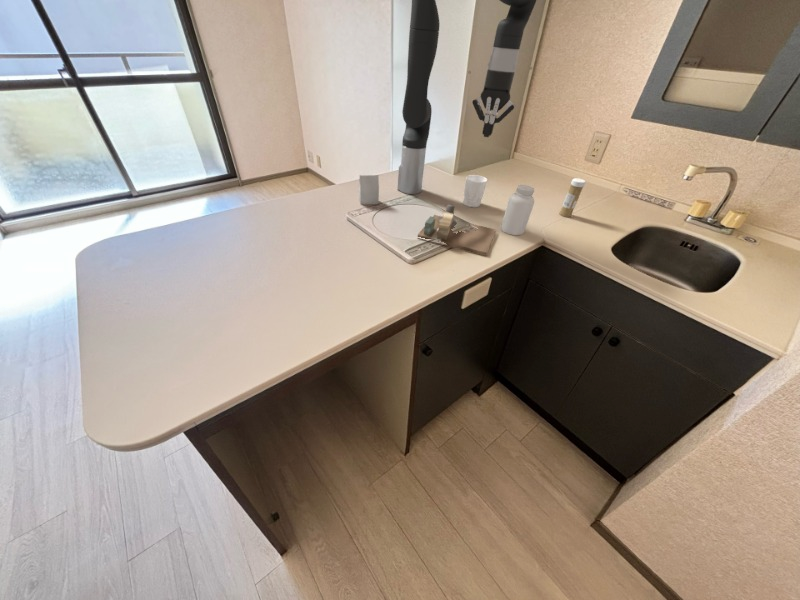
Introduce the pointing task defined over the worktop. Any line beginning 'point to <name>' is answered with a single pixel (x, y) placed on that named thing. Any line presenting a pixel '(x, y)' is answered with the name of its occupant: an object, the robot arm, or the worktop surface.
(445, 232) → the stool leg
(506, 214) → the pill bottle
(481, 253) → the board
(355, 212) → the worktop surface
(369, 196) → the grey upright block
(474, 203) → the white cup
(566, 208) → the sprinkles bottle
